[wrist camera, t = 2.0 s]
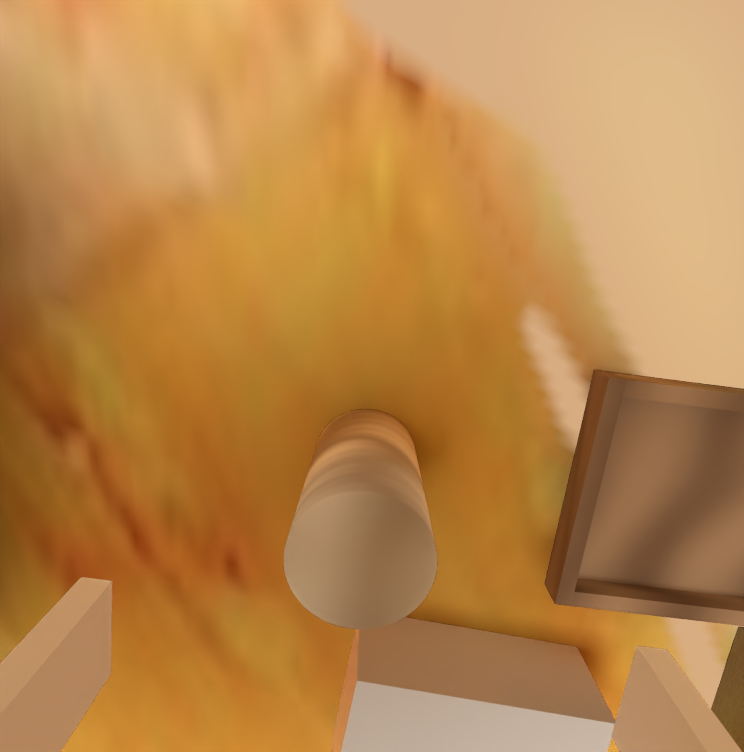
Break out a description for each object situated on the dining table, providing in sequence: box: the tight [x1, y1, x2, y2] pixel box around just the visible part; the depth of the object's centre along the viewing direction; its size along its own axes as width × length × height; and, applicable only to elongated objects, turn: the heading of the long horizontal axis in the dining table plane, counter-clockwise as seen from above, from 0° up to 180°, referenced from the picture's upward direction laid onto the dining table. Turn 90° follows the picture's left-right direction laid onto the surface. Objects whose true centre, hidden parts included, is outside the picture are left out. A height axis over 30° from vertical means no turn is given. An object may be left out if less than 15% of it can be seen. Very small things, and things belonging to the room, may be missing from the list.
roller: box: [284, 409, 438, 629], centre depth 21 cm, size 5×5×9 cm
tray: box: [545, 370, 744, 626], centre depth 25 cm, size 12×12×2 cm
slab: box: [332, 617, 615, 752], centre depth 26 cm, size 12×8×5 cm, turn 79°
